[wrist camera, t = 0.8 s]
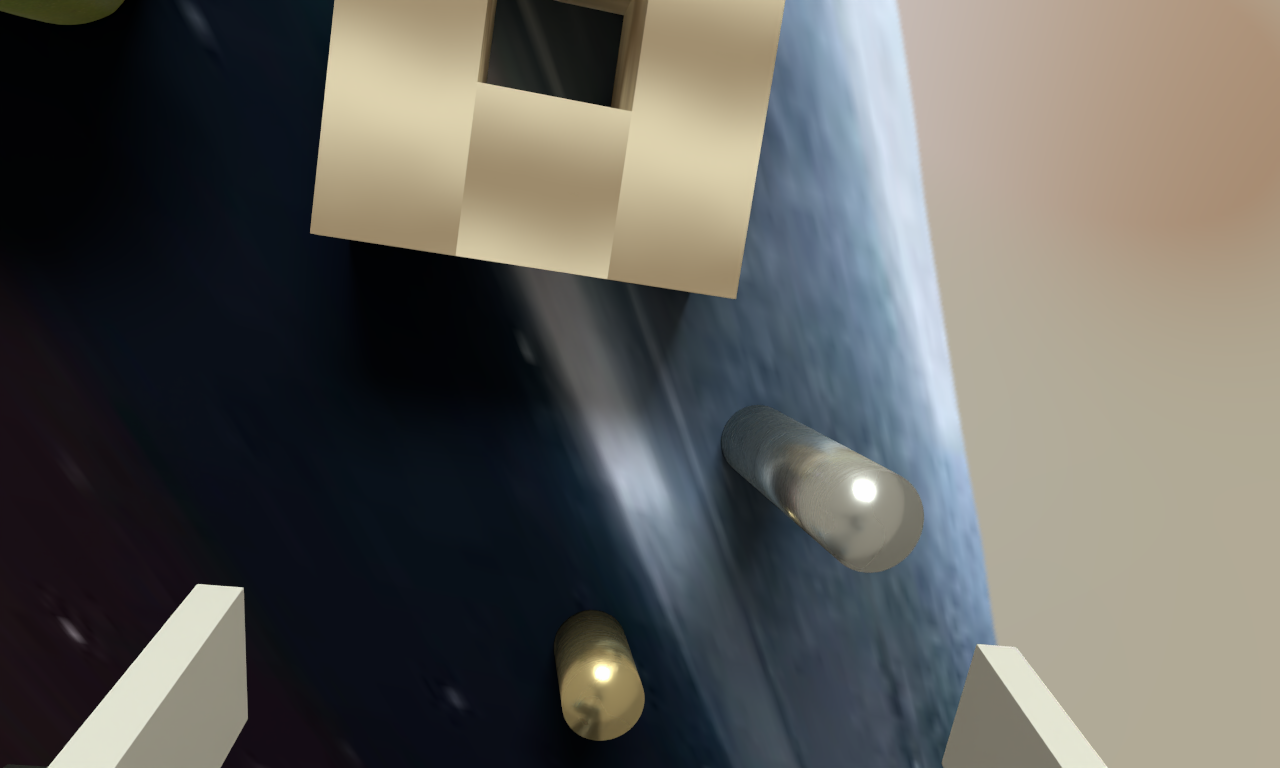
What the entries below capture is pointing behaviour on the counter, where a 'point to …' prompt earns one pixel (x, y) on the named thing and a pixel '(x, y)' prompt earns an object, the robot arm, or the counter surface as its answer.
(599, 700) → the brass pin
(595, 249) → the birch block
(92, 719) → the robot arm
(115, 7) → the plant pot
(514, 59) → the counter surface
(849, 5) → the counter surface
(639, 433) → the counter surface
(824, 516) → the steel pin
